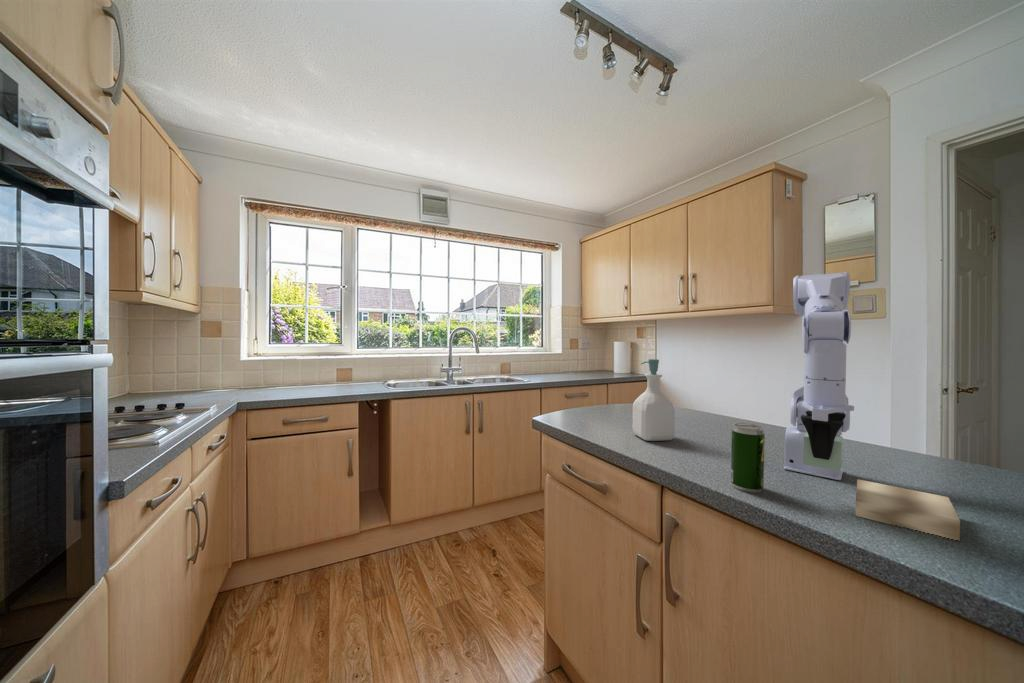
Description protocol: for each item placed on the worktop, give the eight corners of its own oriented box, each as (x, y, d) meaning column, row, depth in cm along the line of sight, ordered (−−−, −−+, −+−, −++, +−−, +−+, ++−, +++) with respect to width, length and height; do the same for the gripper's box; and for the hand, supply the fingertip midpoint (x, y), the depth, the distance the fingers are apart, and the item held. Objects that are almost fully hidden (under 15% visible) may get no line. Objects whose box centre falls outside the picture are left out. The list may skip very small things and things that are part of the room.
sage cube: (803, 464, 67) (803, 436, 67) (806, 457, 70) (807, 431, 70) (840, 471, 63) (841, 441, 63) (841, 464, 67) (842, 436, 67)
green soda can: (734, 491, 70) (735, 428, 70) (727, 480, 76) (728, 422, 75) (767, 495, 69) (769, 430, 69) (758, 484, 74) (759, 424, 74)
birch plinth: (855, 515, 61) (855, 497, 61) (857, 495, 69) (857, 479, 69) (959, 541, 53) (960, 520, 53) (947, 515, 61) (948, 497, 61)
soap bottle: (629, 433, 112) (630, 357, 111) (660, 433, 113) (661, 357, 112) (644, 442, 102) (645, 360, 102) (677, 442, 103) (678, 360, 103)
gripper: (853, 384, 58) (851, 470, 59) (855, 377, 69) (854, 450, 69) (797, 380, 63) (795, 460, 64) (807, 374, 74) (806, 442, 74)
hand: (822, 454), depth 67 cm, fingers closed on sage cube, 5 cm apart
